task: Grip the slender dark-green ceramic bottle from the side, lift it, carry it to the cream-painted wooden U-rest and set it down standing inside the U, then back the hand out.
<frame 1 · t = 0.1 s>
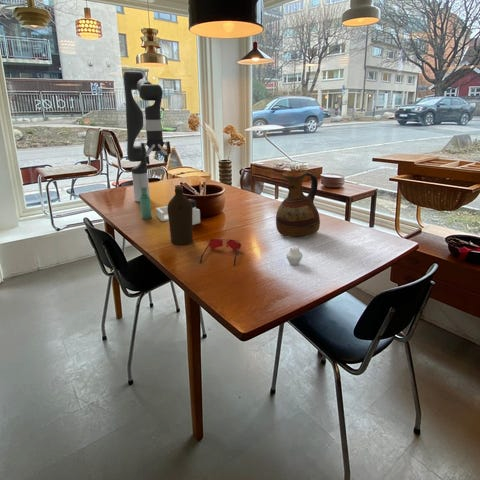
hand: (157, 163, 183), 29 cm above the table, tool pointing down, fingers open, 8 cm apart
glasses: (221, 257, 148), on the table
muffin: (293, 264, 141), on the table
medicine bottle: (190, 223, 188), on the table
ceramic pitcher: (297, 234, 172), on the table
olive oil: (182, 241, 164), on the table
green bottle: (146, 217, 196), on the table
cream U-rest: (169, 216, 197), on the table
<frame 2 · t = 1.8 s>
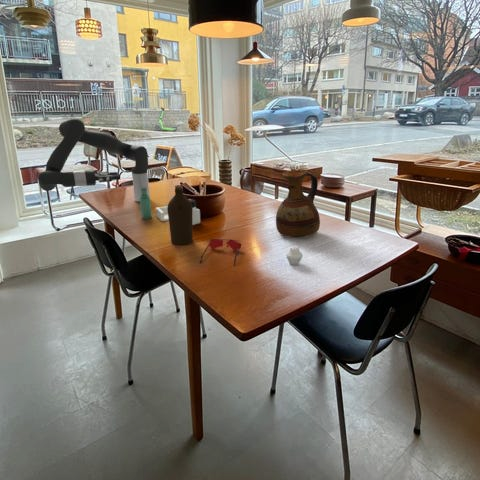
hand: (118, 175, 187), 23 cm above the table, tool horizontal, fingers open, 8 cm apart
nothing on the table moved.
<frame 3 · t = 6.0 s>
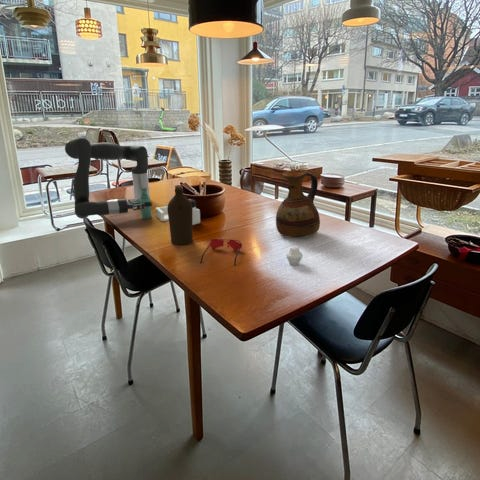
hand: (150, 202, 195), 8 cm above the table, tool horizontal, fingers closed on green bottle, 5 cm apart
green bottle: (146, 217, 196), on the table, touching gripper
everything else where it was.
when the fingers open (10 cm above the table, at t = 10.2 s): green bottle drops 1 cm, resting on cream U-rest.
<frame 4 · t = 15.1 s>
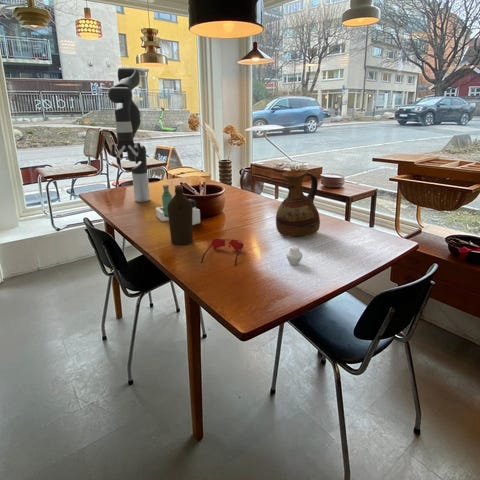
hand: (128, 164, 187), 28 cm above the table, tool pointing down, fingers open, 8 cm apart
green bottle: (168, 215, 197), point 1 cm above the table, touching cream U-rest
everything else where it was.
at the end: green bottle inside the target area on the cream U-rest (0.3 cm from its centre), point 1.1 cm above the cream U-rest's base; green bottle tilted 2°; the gripper is holding nothing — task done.
